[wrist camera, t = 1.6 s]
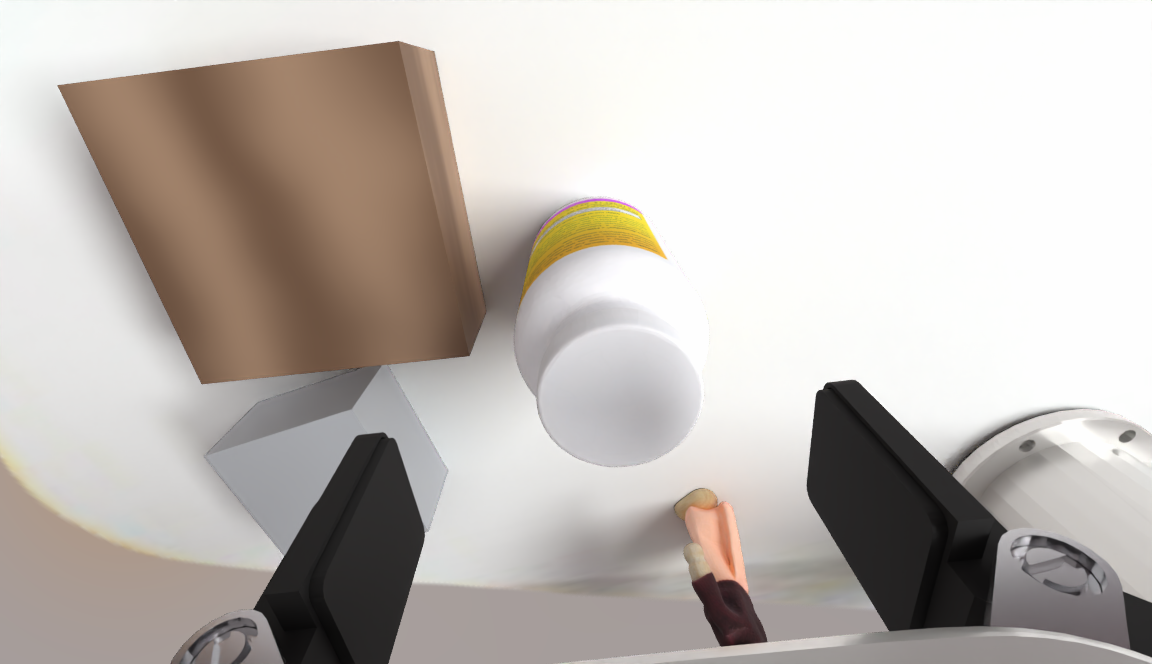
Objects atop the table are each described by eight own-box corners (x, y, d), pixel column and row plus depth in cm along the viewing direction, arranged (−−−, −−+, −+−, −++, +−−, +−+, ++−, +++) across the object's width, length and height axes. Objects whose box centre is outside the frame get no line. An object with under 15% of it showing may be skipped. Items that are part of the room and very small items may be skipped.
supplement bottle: (503, 249, 26) (447, 380, 14) (612, 164, 24) (652, 233, 12) (584, 345, 28) (595, 527, 16) (689, 273, 26) (783, 419, 15)
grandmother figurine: (761, 527, 34) (860, 755, 22) (713, 556, 35) (784, 788, 23) (688, 457, 31) (756, 672, 20) (639, 492, 32) (677, 714, 21)
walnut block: (434, 51, 22) (398, 41, 17) (486, 311, 27) (469, 356, 22) (160, 86, 22) (57, 85, 18) (262, 335, 27) (201, 384, 23)
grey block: (386, 358, 28) (351, 409, 24) (448, 468, 32) (428, 531, 27) (260, 400, 29) (203, 456, 25) (332, 502, 33) (294, 568, 28)
